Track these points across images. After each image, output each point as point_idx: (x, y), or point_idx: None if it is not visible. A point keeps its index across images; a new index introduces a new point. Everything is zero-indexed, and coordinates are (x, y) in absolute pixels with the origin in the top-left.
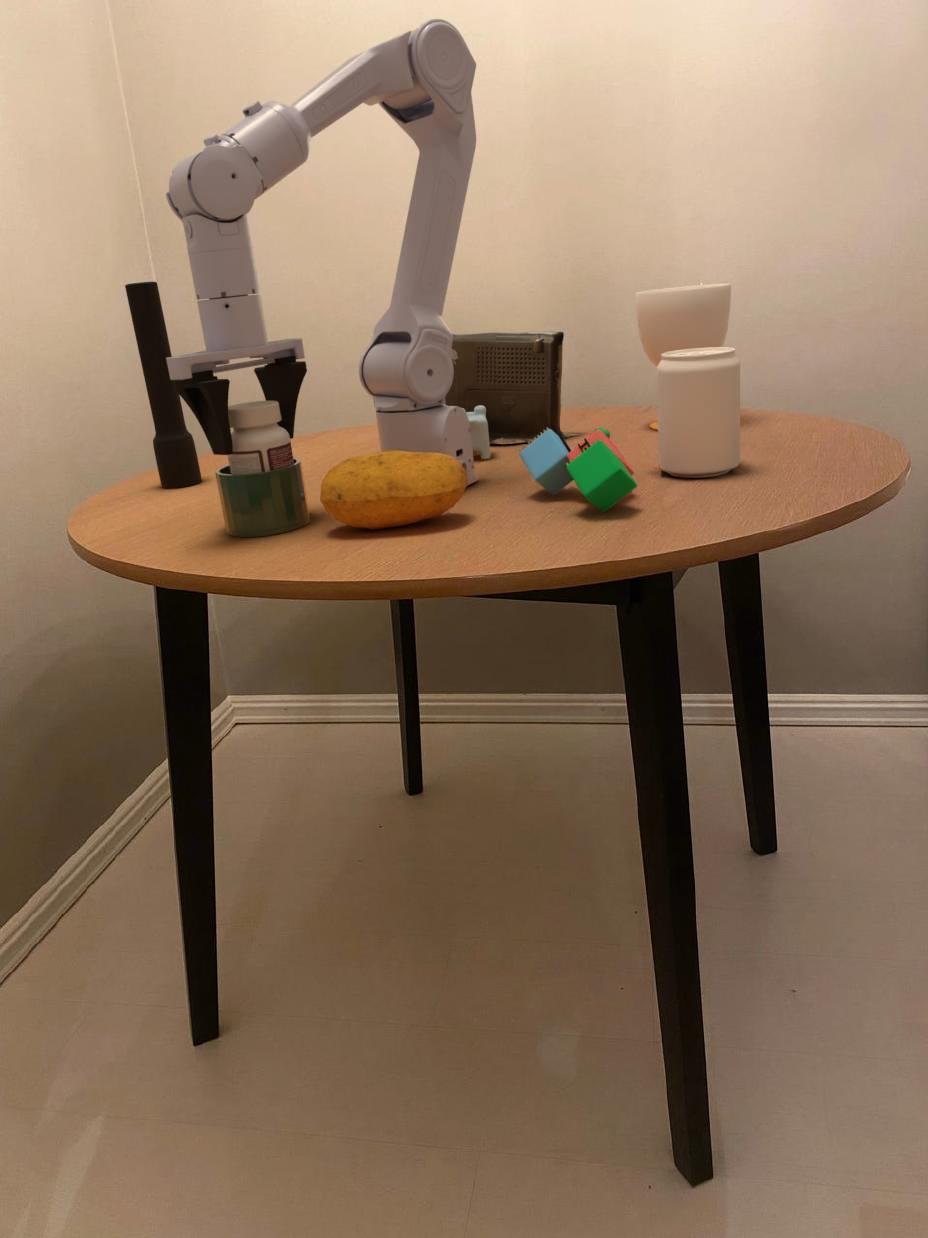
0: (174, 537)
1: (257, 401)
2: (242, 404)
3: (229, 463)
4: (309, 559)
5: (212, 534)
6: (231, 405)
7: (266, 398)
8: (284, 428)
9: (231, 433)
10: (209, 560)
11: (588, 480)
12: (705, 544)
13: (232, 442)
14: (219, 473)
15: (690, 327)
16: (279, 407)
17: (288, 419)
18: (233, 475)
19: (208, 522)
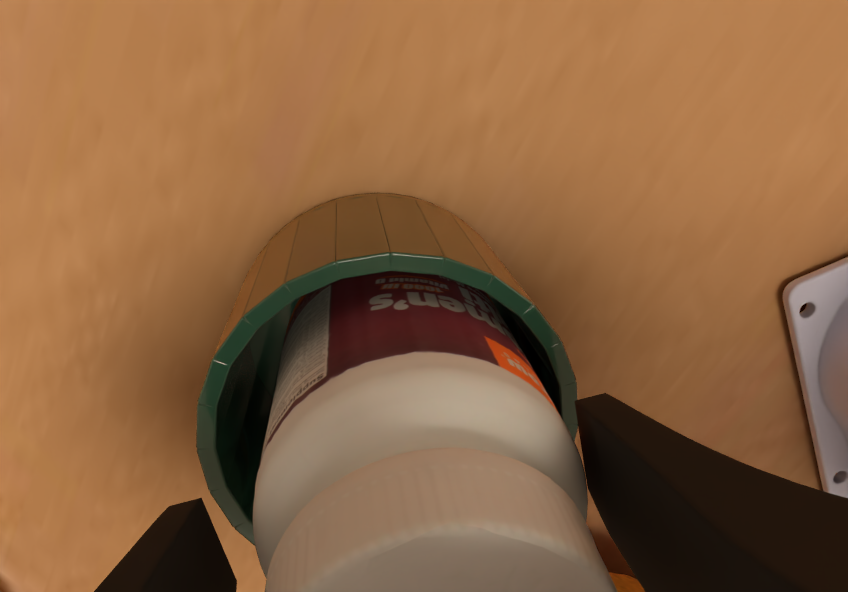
0: (77, 162)
1: (570, 574)
2: (445, 582)
3: (266, 432)
4: None
5: (200, 256)
6: (374, 554)
7: (686, 515)
8: (606, 505)
9: (307, 497)
10: (90, 523)
11: None
12: None
13: (262, 568)
14: (206, 429)
15: None
16: (666, 566)
17: (634, 571)
18: (232, 522)
19: (258, 56)
